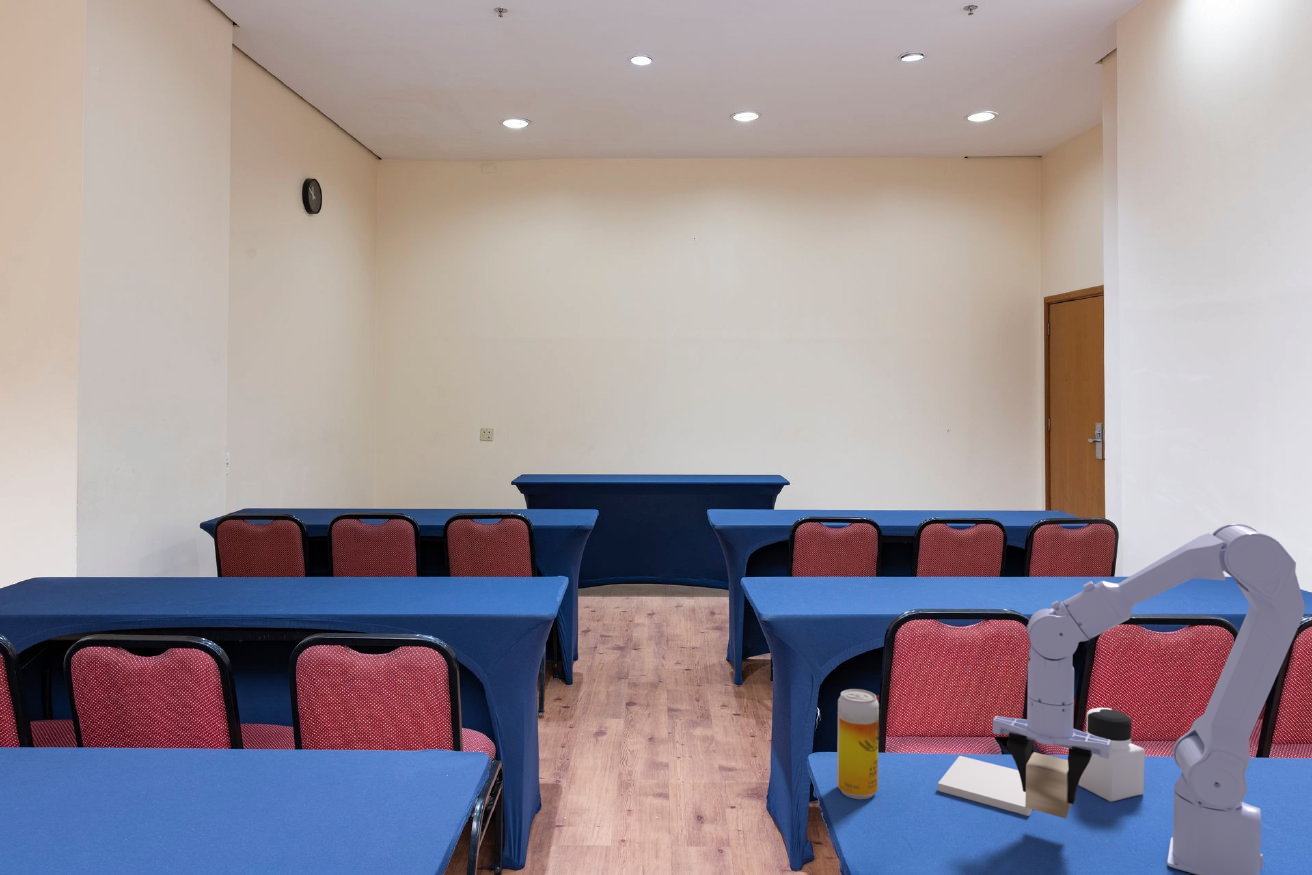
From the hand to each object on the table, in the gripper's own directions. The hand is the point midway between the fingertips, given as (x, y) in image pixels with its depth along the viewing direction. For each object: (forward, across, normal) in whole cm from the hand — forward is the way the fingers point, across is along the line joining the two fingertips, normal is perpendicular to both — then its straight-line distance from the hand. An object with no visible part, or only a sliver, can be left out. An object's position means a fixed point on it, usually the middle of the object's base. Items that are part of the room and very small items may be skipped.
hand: (1048, 794), depth 111 cm
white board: (+5, -10, +10) cm, 15 cm away
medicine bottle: (+6, +5, +20) cm, 21 cm away
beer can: (+6, -26, -4) cm, 27 cm away
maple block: (+2, 0, 0) cm, 2 cm away
